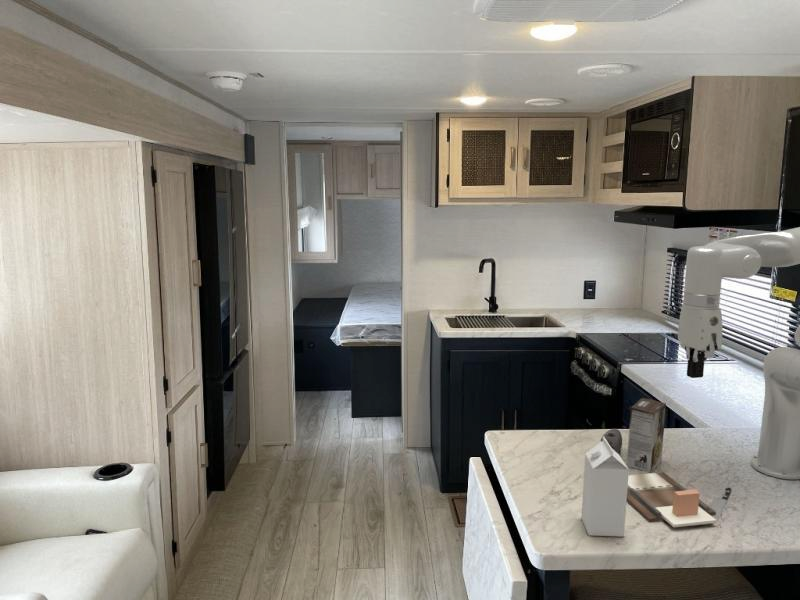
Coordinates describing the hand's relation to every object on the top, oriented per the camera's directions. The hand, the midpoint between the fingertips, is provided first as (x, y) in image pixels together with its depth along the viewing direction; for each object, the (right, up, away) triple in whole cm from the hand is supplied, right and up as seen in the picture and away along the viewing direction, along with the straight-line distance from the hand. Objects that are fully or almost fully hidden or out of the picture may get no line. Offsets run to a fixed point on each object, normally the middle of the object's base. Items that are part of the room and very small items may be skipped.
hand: (694, 376), depth 144 cm
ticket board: (-10, -28, -2) cm, 30 cm away
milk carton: (-27, -30, -15) cm, 43 cm away
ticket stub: (-8, -29, -12) cm, 32 cm away
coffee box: (-6, -25, +15) cm, 30 cm away
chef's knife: (+2, -29, -5) cm, 30 cm away
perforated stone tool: (-13, -24, +20) cm, 34 cm away
